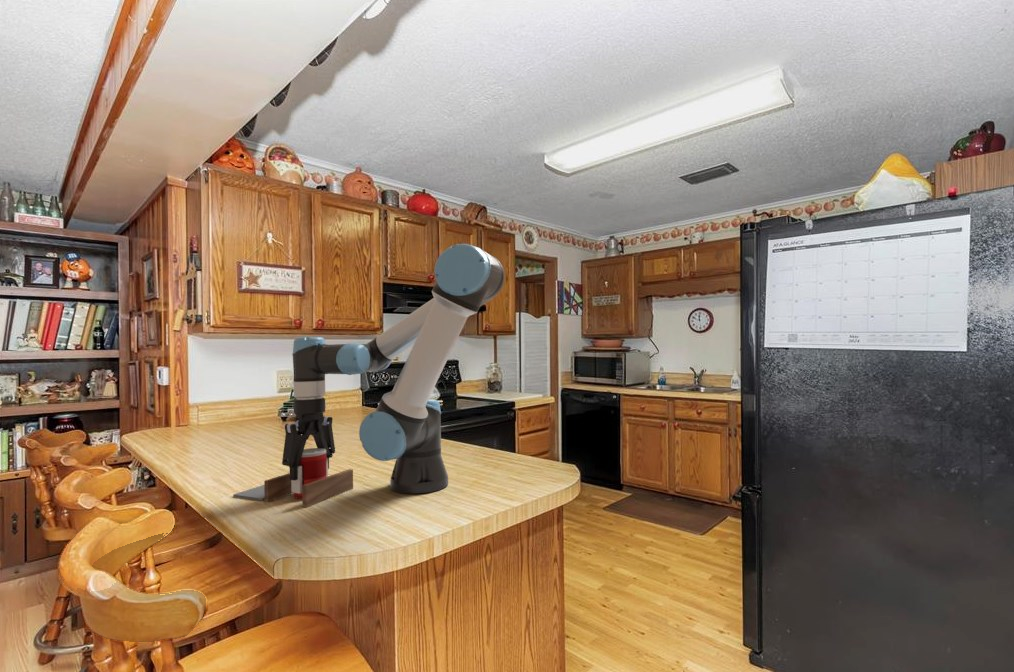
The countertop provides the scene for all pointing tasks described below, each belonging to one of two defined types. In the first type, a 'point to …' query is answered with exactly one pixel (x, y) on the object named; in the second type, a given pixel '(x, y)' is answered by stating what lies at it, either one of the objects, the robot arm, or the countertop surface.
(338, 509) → the countertop surface
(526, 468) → the countertop surface
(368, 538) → the countertop surface
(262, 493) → the slate mat
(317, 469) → the canned food
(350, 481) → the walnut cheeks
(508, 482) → the countertop surface
